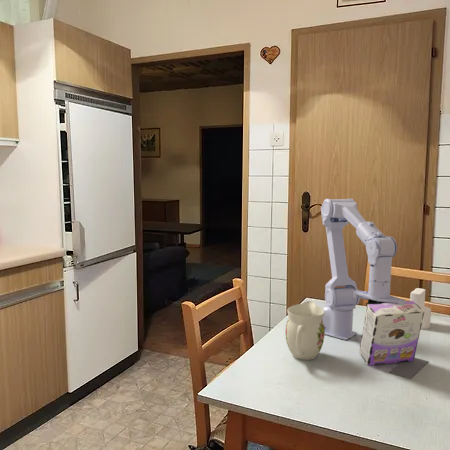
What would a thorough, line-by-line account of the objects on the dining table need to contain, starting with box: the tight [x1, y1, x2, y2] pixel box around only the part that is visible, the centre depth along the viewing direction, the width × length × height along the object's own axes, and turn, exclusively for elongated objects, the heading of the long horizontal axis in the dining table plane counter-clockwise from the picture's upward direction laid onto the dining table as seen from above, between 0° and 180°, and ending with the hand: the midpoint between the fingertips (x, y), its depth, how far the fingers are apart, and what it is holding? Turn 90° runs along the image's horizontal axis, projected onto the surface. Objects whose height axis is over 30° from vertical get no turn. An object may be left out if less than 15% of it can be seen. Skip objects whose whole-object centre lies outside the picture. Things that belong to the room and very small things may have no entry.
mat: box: [388, 357, 429, 380], centre depth 123 cm, size 6×14×1 cm, turn 139°
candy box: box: [358, 300, 424, 366], centre depth 124 cm, size 14×6×16 cm, turn 99°
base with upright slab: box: [409, 287, 432, 330], centre depth 158 cm, size 9×9×12 cm
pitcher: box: [285, 300, 325, 361], centre depth 129 cm, size 11×18×14 cm, turn 160°
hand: (377, 327), depth 129 cm, fingers closed
